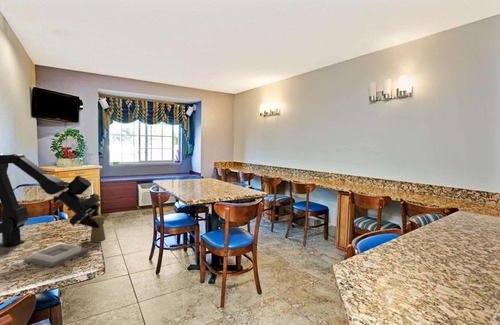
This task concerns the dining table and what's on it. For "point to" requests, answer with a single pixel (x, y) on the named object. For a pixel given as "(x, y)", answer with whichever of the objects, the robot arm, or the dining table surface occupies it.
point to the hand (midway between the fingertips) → (101, 225)
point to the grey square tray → (55, 254)
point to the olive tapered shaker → (98, 230)
